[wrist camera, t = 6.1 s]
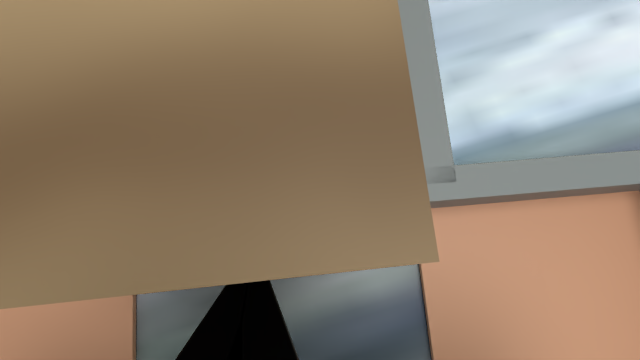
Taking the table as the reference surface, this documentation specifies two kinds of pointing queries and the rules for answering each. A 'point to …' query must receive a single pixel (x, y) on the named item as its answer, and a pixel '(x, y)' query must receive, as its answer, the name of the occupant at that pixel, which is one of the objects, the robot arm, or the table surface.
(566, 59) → the table surface
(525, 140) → the table surface
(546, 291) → the trap lane
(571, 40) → the table surface
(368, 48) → the walnut block
